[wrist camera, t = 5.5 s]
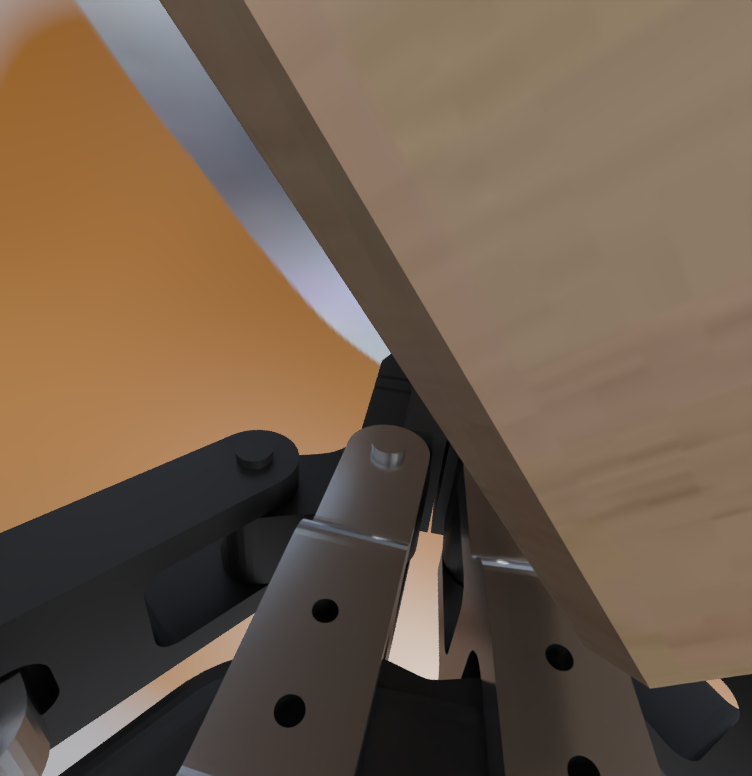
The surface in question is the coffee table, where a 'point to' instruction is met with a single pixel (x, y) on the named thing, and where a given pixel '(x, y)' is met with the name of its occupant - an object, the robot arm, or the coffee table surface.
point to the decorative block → (544, 270)
